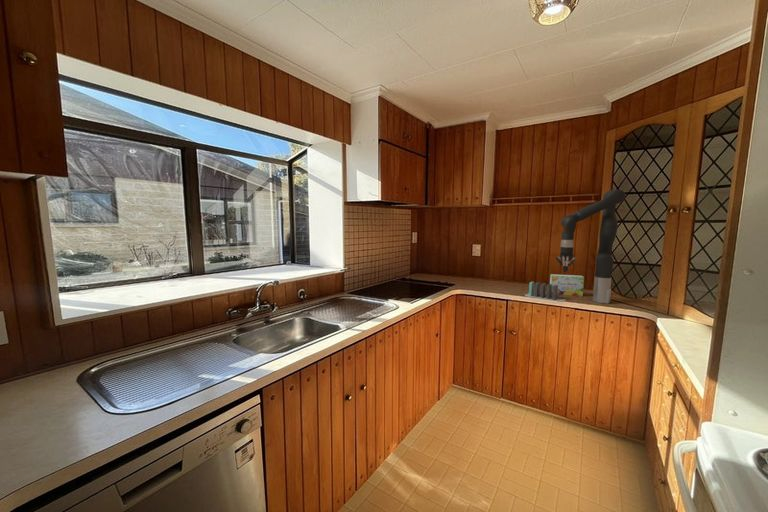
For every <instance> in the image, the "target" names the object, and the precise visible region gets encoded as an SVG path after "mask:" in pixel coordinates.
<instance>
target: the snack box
mask: <svg viewBox="0 0 768 512" xmlns="http://www.w3.org/2000/svg"><path fill="white" fill-rule="evenodd" d="M549 275H550V277H549V284H552V291H551V295H553V286H554V285H558V295H559V296H570V297H583V295H584V284H585V283H584V282H585V276H583V275H576V274H575V275H574V274H557V273H556V274H554V273H550V274H549ZM558 295H557V296H558Z"/></svg>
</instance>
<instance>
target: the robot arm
mask: <svg viewBox="0 0 768 512" xmlns="http://www.w3.org/2000/svg"><path fill="white" fill-rule="evenodd" d="M626 196H627V195H626V193H625V191H624V190H621V189H613V190H607V191H606V192H605V193H604V194H603V198H602V199H601V200H599V201H597V202H594V203H590V204H589V205H587V206H584V207H581V209H578V210H577V211H576V212H572V213H570V214H568V215H566V216H564V217H562V218H561V220H560V225H561V226H562V227H564V229H563V231H562V232H561V240H560V248H559V249H560V250H559V251H560V252H559V256H557V257H555V259H556V260H557V262H558V264H559V265H560V266H562V271H563V272H568V271H569V267H570V266H572V265H573V264H574V263H575V262H577V261H578V258H576V257H574V246H575V245H574V239H575V231H576V229H577V225H578V222H582V221H585V220H586V219H588V218H590V217H592V216H594V215H595V214H597V213H600V212H601V211H602V213H601V214H602V215H601V222H600V227H599V237H598V238H599V239H598V240H599V241H598V244H599V245H598V249H597V252H596V253H597V254H596V257H595V271H594V282H593V283H594V284H593V294H592V302H594V303H597V304H609V303H610V302H611V295H612V288H611V287H612V286H611V285H612V284H611V283H612V275H613V269H614V268H613V267H614V259H613V257H612V254H613V253H612V251H613V245H614V242H615V239H616V237H617V232H618V227H619V225H618V223H619V222H618V219H617V216H616V208H617V207H616V205H618V204H620V203H622V202H624V200H626ZM571 260H572V261H571Z"/></svg>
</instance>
